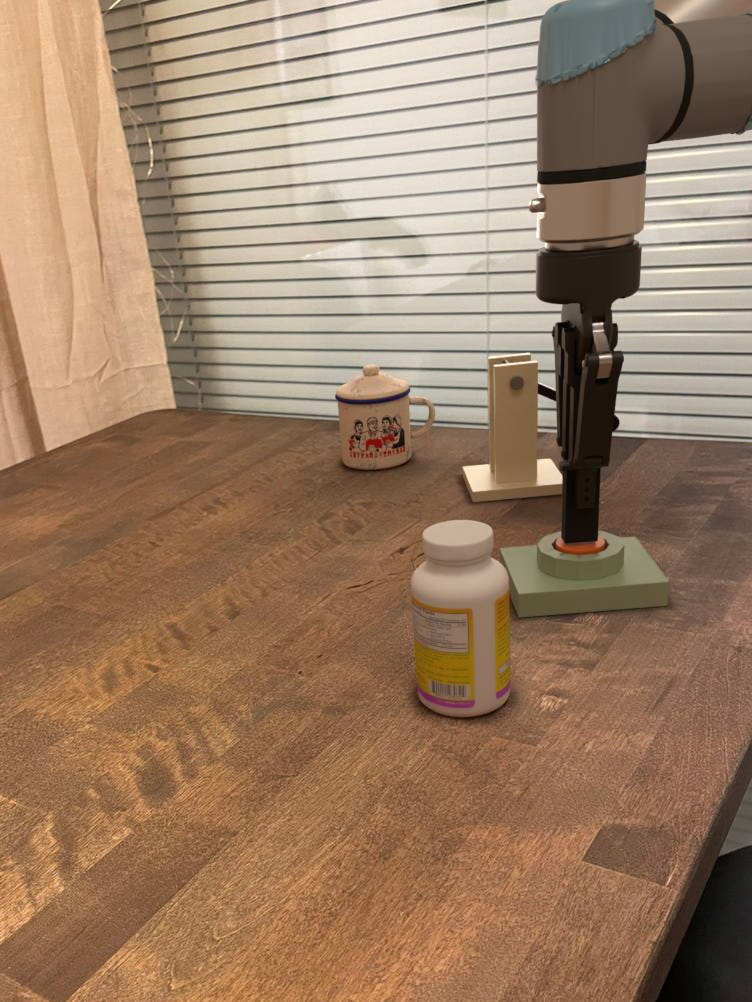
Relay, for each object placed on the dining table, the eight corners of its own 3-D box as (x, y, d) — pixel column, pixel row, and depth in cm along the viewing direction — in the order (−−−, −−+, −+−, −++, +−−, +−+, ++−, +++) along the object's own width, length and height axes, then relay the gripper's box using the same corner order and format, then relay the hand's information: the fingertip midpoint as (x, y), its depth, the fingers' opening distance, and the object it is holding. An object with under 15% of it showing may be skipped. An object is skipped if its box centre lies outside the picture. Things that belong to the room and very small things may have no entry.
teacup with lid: (343, 475, 121) (335, 378, 116) (337, 453, 130) (330, 362, 124) (442, 463, 121) (439, 366, 116) (430, 443, 129) (426, 351, 124)
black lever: (598, 422, 111) (610, 402, 110) (612, 437, 106) (624, 416, 105) (491, 375, 109) (501, 355, 108) (499, 388, 104) (510, 367, 103)
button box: (634, 558, 91) (636, 517, 89) (667, 606, 82) (671, 560, 80) (499, 570, 92) (499, 529, 90) (518, 618, 83) (518, 573, 81)
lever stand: (550, 468, 115) (552, 346, 109) (567, 493, 107) (570, 363, 101) (462, 476, 116) (459, 355, 110) (472, 502, 108) (469, 373, 102)
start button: (598, 549, 87) (598, 530, 86) (609, 567, 84) (610, 548, 83) (551, 553, 88) (551, 535, 87) (560, 571, 84) (561, 552, 83)
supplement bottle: (485, 667, 76) (482, 507, 70) (527, 708, 70) (527, 537, 65) (403, 686, 75) (393, 525, 69) (438, 729, 69) (431, 558, 63)
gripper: (521, 238, 80) (520, 516, 91) (554, 257, 69) (549, 573, 79) (617, 227, 80) (605, 509, 90) (667, 245, 68) (647, 565, 79)
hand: (579, 538), depth 85 cm, fingers closed
